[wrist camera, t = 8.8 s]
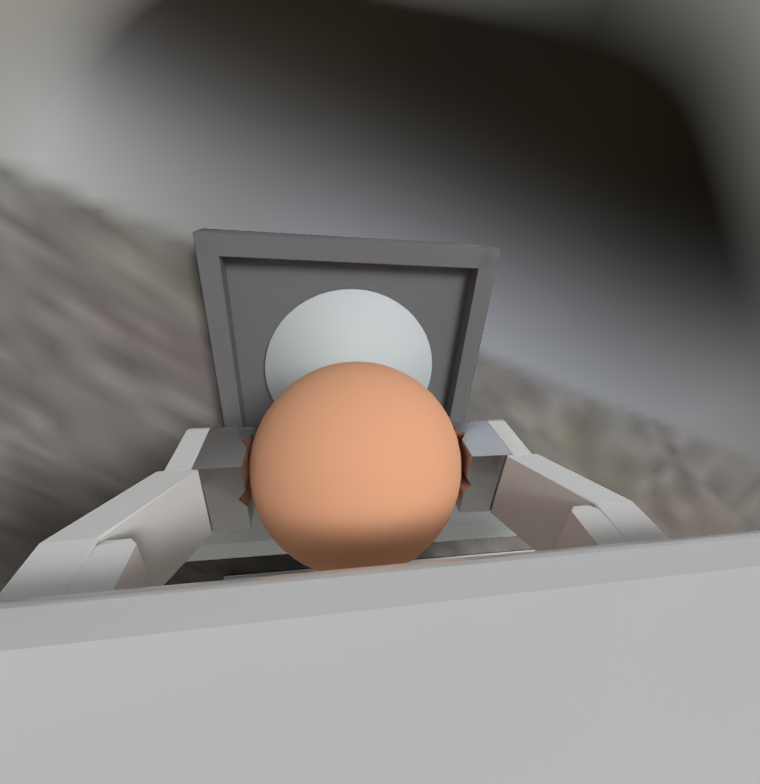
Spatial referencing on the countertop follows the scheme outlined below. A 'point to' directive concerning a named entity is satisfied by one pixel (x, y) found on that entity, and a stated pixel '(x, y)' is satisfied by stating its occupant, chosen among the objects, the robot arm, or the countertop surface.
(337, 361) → the gray square tray
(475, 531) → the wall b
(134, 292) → the countertop surface
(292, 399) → the ball
